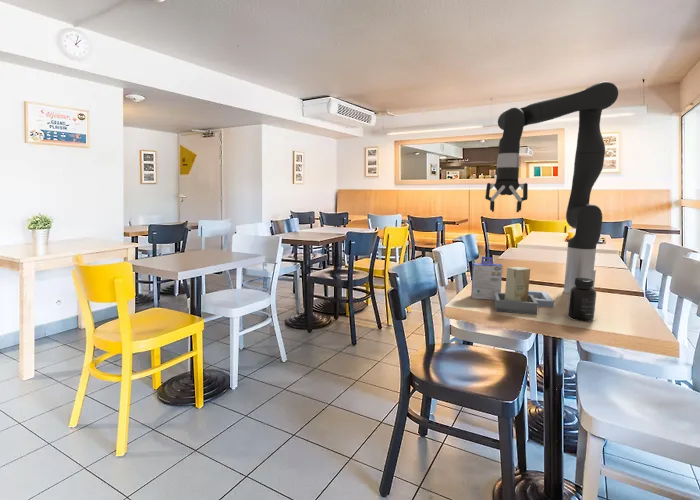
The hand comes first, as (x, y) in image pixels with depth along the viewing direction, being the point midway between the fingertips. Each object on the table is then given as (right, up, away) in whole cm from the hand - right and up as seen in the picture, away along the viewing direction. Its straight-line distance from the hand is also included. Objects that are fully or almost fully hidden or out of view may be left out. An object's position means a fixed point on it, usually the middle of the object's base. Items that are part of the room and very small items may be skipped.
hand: (505, 211), depth 150 cm
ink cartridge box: (-9, -31, -4) cm, 33 cm away
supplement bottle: (+12, -35, -27) cm, 46 cm away
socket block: (+6, -32, -7) cm, 33 cm away
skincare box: (-3, -32, -17) cm, 36 cm away
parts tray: (-3, -33, -17) cm, 37 cm away
